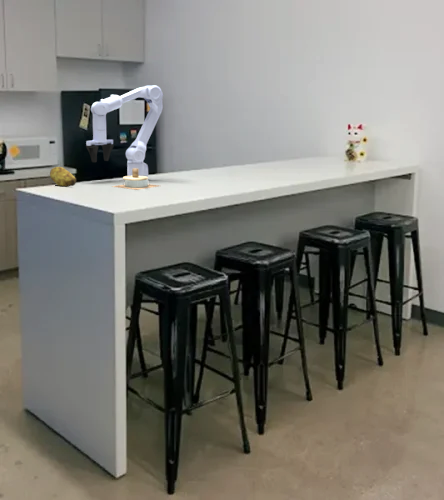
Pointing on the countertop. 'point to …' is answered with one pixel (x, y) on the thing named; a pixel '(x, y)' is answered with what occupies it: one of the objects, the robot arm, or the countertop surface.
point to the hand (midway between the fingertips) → (100, 161)
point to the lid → (135, 176)
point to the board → (136, 188)
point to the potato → (62, 177)
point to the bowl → (136, 183)
